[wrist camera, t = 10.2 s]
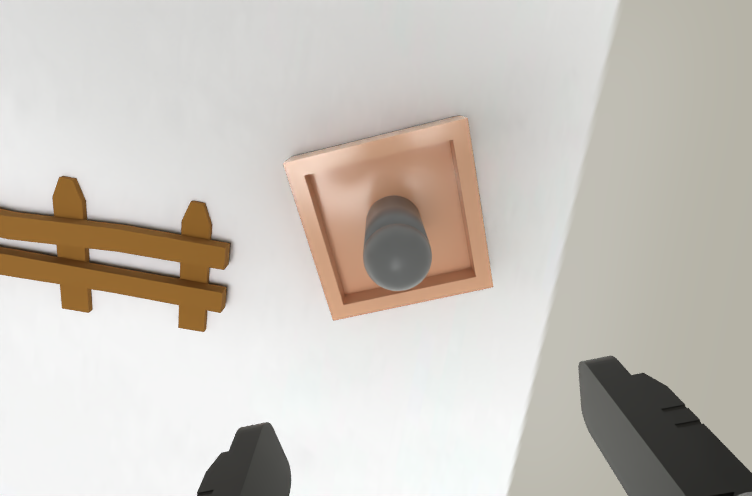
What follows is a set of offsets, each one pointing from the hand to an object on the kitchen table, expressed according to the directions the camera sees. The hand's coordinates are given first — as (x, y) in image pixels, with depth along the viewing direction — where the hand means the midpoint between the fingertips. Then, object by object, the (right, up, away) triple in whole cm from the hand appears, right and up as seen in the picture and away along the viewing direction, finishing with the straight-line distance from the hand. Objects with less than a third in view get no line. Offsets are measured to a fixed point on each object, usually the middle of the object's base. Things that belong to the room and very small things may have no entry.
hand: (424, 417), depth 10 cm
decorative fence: (-24, +5, +19) cm, 31 cm away
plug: (0, +6, +16) cm, 18 cm away
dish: (0, +6, +17) cm, 19 cm away
